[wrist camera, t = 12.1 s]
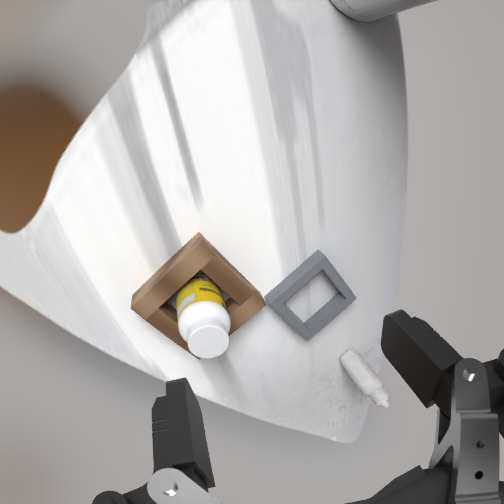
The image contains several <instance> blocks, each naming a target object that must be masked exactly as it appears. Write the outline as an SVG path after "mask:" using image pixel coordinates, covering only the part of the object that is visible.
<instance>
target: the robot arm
mask: <svg viewBox="0 0 504 504" xmlns="http://www.w3.org/2000/svg"><path fill="white" fill-rule="evenodd" d="M434 1H437V0H331V2H332V3H333V4H334V5H335V6H336V7H337V9H339V10H340V11H341V12H342V13H344V14H345V15H347V16H348V17H350V18H352V19H355V20H357V21H362V22H371V21H375V20H378V19H380V18H383V17H386V16H389V15H392V14H395V13H398V12H401V11H404V10H407V9H410V8H413V7H416V6H420V5H423V4H427V3H430V2H434ZM381 348H382V351H383V353H384V355H385V357H386V358H387V359H388V360H389V362H390V363H391V364H392V365H393V366H394V368H395V369H396V370H397V372H398V373H399V374H400V375H401V377H402V378H403V379H404V380H405V382H406V383H407V384H408V385H409V387H410V388H411V389H412V390H413V392H414V393H415V394H416V395H417V397H418V398H419V399H420V401H421V402H422V403H423V404H424V406H425V407H426V408H429V407H430V406H432V405H433V404H436V405H437V406H438V409H437V419H436V432H435V443H434V450H433V454H432V456H431V459H430V463H429V467H428V469H424V470H422V468H421V467H420V465H419V466H417V467H415V468H413V469H412V470H410V471H408V472H406V473H404V474H403V475H401V476H399V477H397V478H395V479H394V480H393V481H391V482H390V483H389V484H388V485H387V486H385V487H384V488H383V489H382V490H380V491H379V492H378V493H377V494H375V495H374V496H373V497H371V498H369V499H366V500H362V501H357V502H352V503H346V504H504V482H503V481H499V432H500V434H501V435H502V437H503V438H504V349H503V350H502V351H501V352H500V355H499V357H498V359H495V360H491V361H488V362H484V363H481V362H480V361H478V360H476V359H473V358H465V359H464V358H463V357H461V356H460V355H459V354H458V353H457V352H456V351H455V350H454V349H453V348H452V347H451V346H450V345H449V344H448V343H447V342H446V341H445V340H444V339H443V338H442V337H440V335H439V334H438V333H437V332H436V331H434V330H433V328H432V327H431V326H430V325H429V324H428V323H427V322H425V321H423V320H421V319H419V318H416V317H413V318H411V317H410V316H409V315H408V314H407V313H406V312H405V311H404V310H398V311H396V312H393V313H391V314H388V315H386V316H385V317H384V320H383V329H382V338H381ZM152 422H153V423H152V431H153V433H152V437H153V458H154V471H153V474H152V476H151V477H150V479H149V481H148V482H147V483H146V484H145V485H143V486H142V487H140V488H137V489H135V490H133V491H130V492H128V493H125V494H122V495H121V494H119V493H118V492H115V491H105V492H102V493H100V494H99V495H97V496H96V497H95V499H94V500H93V503H92V504H222V503H221V502H219V501H218V500H217V499H215V498H214V497H213V496H211V495H210V494H209V493H208V488H211V487H215V483H214V478H213V473H212V468H211V463H210V457H209V452H208V447H207V442H206V436H205V430H204V424H203V418H202V413H201V409H200V406H199V403H198V401H197V399H196V397H195V395H194V393H193V391H192V389H191V387H190V384H189V382H188V380H187V379H186V378H181V379H176V380H172V381H167V382H166V396H163V397H158V398H156V401H155V403H154V405H153V408H152Z"/></svg>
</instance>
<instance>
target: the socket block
mask: <svg viewBox="0 0 504 504" xmlns="http://www.w3.org/2000/svg"><path fill="white" fill-rule="evenodd" d="M200 269H201V270H202V271H203V272H204V273H205V274H206V275H207V276H208V277H209V278H211V279H212V280H213V281H214V282H215V283H216V284H217V285H218V286H219V287H220V288H221V289H223V290H224V291H225V292H226V293H227V294H228V295H229V296H230V298H229V299H228V300H227V301H225V302H224V303H225V305H226V308H227V311H228V314H229V317H230V322H231V326H230V331H229V333H228V336H229V335H230V334H232V333H233V332H234V331H235V330H236V329H238V328H239V327H240V326H241V325H243V324H244V323H245V322H246V321H247V320H249V319H250V318H251V317H252V316H253V315H255V314H256V313H257V312H258V311H259V310H260V309H262V308H263V307H264V306H265V305H266V303H265V301H264V299H263V297H262V296H261V294H260V292H259V291H258V290H257V289H256V288H255V287H254V286H253V285H252V284H251V283H250V282H249V281H248V280H247V279H246V278H245V277H244V276H243V275H242V274H241V273H240V272H239V271H238V270H237V269H236V268H235V267H233V266H232V265H231V264H230V263H229V262H228V261H227V260H226V259H225V258H224V257H223V256H222V255H221V254H220V253H219V252H218V251H217V250H216V249H215V248H214V247H213V246H212V245H211V244H210V243H209V242H208V241H207V240H206V239H205V238H204V237H203V236H202V235H201V234H200V233H199V232H198V233H197V234H196V235H195V236H194V237H193V238H192V239H191V240H190V241H189V242H188V243H186V244H185V245H184V246H183V247H182V248H181V249H180V250H179V251H178V252H177V253H176V254H175V255H174V256H173V257H172V258H171V259H169V260H168V261H167V262H166V263H165V264H164V265H163V266H162V267H161V268H160V269H159V270H158V271H157V272H156V273H155V274H154V275H153V276H152V277H151V278H150V279H149V280H148V281H147V282H146V283H144V284H143V285H142V286H141V287H140V288H139V289H138V290H137V291H136V292H135V293H134V294H133V296H132V303H131V309H132V310H133V311H135V312H136V313H137V314H138V315H140V316H141V317H142V318H143V319H145V320H146V321H147V322H149V323H150V324H151V325H152V326H154V327H155V328H156V329H158V330H159V331H160V332H162V333H163V334H164V335H166V336H167V337H168V338H170V339H171V340H172V341H174V342H175V343H177V344H178V345H179V346H181V347H182V348H184V349H185V350H186V351H188V352H189V353H191V354H192V355H193V356H195V355H194V354H193V353H192V352H191V351H190V350H189V348H188V343H187V342H186V341H185V340H184V339H183V338H182V336H181V335H180V332H179V328H178V318H177V310H176V309H175V308H174V307H172V306H171V305H170V304H169V303H167V302H166V300H168V299H169V298H170V297H171V296H172V295H173V294H174V293H175V292H176V291H177V290H178V289H180V288H181V287H182V286H183V285H184V284H185V283H186V282H187V281H188V280H189V279H190V278H192V277H193V276H194V275H195V274H196V273H197V272H198V271H199V270H200ZM195 357H196V358H198V359H201V358H200V357H197V356H195Z"/></svg>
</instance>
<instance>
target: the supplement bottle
mask: <svg viewBox="0 0 504 504" xmlns="http://www.w3.org/2000/svg"><path fill="white" fill-rule="evenodd" d="M176 307H177V318H178V328H179V332H180V335H181V336H182V338H183V339H184V340H185V341H186V342H187V343H188V348H189V350H190V351H191V352H192V353H193V354H194V355H195V356H197V357H200V358H205V359H209V358H214V357H217V356H219V355H221V354H222V353H224V352H225V351H226V349H227V348H228V345H229V336H228V333H229V331H230V326H231V322H230V317H229V314H228V311H227V308H226V305H225V303H224V300H223V297H222V294H221V291H220V288H219V286H218V285H217V284H216V283H215V282H214V281H213V280H212V279H211V278H209V277H207V276H204V275H194V276H193V277H192V278H190V279H189V280H188V281H187V282H186V283H185V284H184V285H183V286H182V287H181V288H180V289H178V290H177V291H176Z"/></svg>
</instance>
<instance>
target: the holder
mask: <svg viewBox="0 0 504 504" xmlns="http://www.w3.org/2000/svg"><path fill="white" fill-rule="evenodd" d="M321 270H323V272H324V273H325V274H326V275H327V277H328V278H329V279H330V280H331V282H332V283H333V284H334V286H335V287H336V288H337V289H338V291H339V293H338V294H337V295H336V296H335V297H334V298H332V299H331V300H330V301H329V302H328V303H327V304H326V305H324V306H323V307H322V308H321V309H320V310H319V311H318V312H316V313H315V314H314V315H313V316H312V317H311V318H309V319H308V320H307V321H306V322H305V323H303V322H302V321H301V320H300V319H299V318H298V317H297V316H296V315H295V314H294V313H293V312H292V311H291V310H290V309H289V308H288V307H287V306H286V305H285V304H284V302H285V301H286V300H287V299H289V298H290V297H291V296H292V295H293V294H294V293H296V292H297V291H298V290H299V289H300V288H301V287H302V286H304V285H305V284H306V283H307V282H308V281H309V280H310V279H312V278H313V277H314V276H315V275H316V274H317V273H318V272H319V271H321ZM265 299H266V300H267V302H268V304H269V305H270V306H271V307H272V308H273V309H274V310H275V311H276V312H277V313H278V314H279V315H280V316H281V317H282V318H283V319H284V320H285V321H286V322H287V323H289V324H290V325H291V326H292V327H293V328H294V329H295V330H296V331H297V332H298V333H299V334H300V335H301V336H302V337H303V338H304V339H305V340H307V341H308V340H309V339H310V338H311V337H313V336H314V335H315V334H316V333H317V332H319V331H320V330H321V329H322V328H323V327H325V326H326V325H327V324H328V323H329V322H330V321H332V320H333V319H334V318H335V317H336V316H337V315H338V314H340V313H341V312H342V311H343V310H344V309H345V308H346V307H347V306H349V305H350V304H351V303H352V302H353V301H354V300H355V299H356V297H355V295H354V294H353V292H352V291H351V290H350V288H349V287H348V286H347V284H346V283H345V281H344V280H343V279H342V277H341V276H340V275H339V273H338V272H337V271H336V269H335V268H334V267H333V265H332V264H331V263H330V261H329V260H328V259H327V257H326V256H325V255H324V254H323V253H322V252H320V251H319V250H317V251H316V252H315V253H314V254H313V255H312V256H310V257H309V258H308V259H307V260H306V261H305V262H304V263H303V264H301V265H300V266H299V267H298V268H297V269H296V270H295V271H293V272H292V273H291V274H290V275H289V276H288V277H287V278H285V279H284V280H283V281H282V282H281V283H280V284H279V285H277V286H276V287H275V288H274V289H273V290H272V291H270V292H269V293H268V294H267V295H266V296H265Z"/></svg>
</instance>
